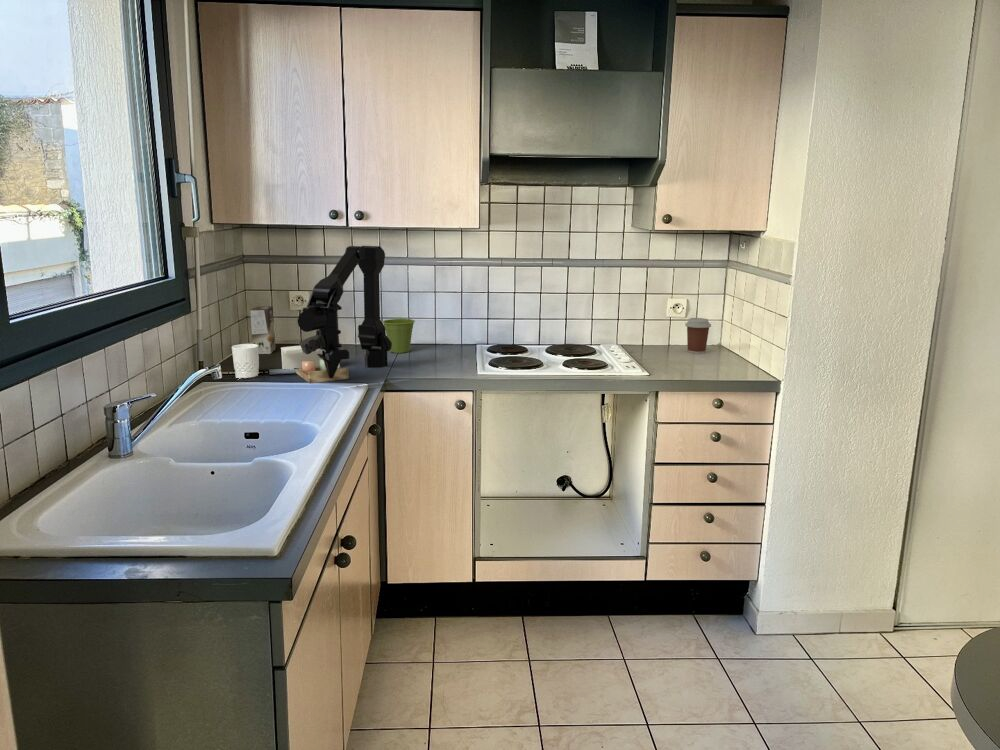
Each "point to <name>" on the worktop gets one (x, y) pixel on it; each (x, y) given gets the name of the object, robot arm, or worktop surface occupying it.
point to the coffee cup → (697, 334)
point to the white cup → (246, 360)
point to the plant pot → (399, 334)
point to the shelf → (298, 357)
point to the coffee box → (263, 328)
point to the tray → (323, 375)
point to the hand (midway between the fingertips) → (331, 377)
